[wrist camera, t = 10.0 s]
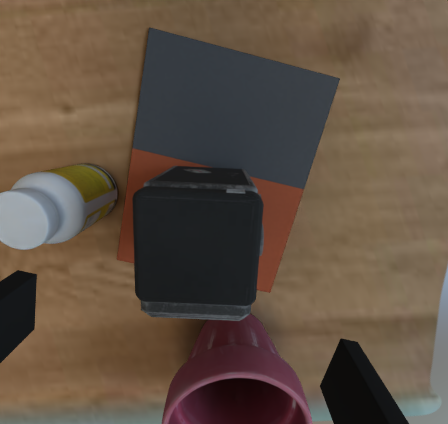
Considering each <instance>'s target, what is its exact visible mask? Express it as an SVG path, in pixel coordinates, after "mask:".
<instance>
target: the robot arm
mask: <svg viewBox="0 0 448 424" xmlns="http://www.w3.org/2000/svg"><path fill="white" fill-rule="evenodd" d="M36 280H37V274H33V273H28V272H24V271H19V270H17V271H16V272H14V273H13V274H11V275H10V276H8V277H7V278H5V279H3V280H2V281H0V363H1V362H2V361H3V360H4V359H5V358H6V357H7V356H8V355H9V354H10V353H11V352H12V351H13V350H14V349H15V348H16V347H17V346H18V345H19V344H20V343H21V342H22V341H23V340H24V339H25V338H26V337H27V336H28V335H29V334H30V333H31V332H32V331H33V330H34V326H35V303H36ZM320 388H321V390H322V393H323V396H324V398H325V401H326V404H327V407H328V409H329V412H330V415H331V417H332V420H333V423H334V424H409V423H408V421H407V420H406V418H405V417H404V415H403V413H402V412H401V410H400V409H399V407H398V405H397V404H396V402H395V401H394V399H393V398H392V396H391V394H390V393H389V391H388V390H387V388H386V386H385V385H384V383H383V382H382V380H381V379H380V377H379V375H378V374H377V372H376V371H375V369H374V367H373V366H372V364H371V363H370V361H369V359H368V358H367V356H366V355H365V353H364V352H363V350H362V348H361V347H360V345H359V344H358V342H355V341H350V340H346V339H340V342H339V344H338V346H337V348H336V351H335V353H334V355H333V358H332V360H331V362H330V364H329V367H328V369H327V371H326V373H325V376H324V378H323V380H322V383H321V385H320Z"/></svg>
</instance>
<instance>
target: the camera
mask: <svg viewBox="0 0 448 424" xmlns="http://www.w3.org/2000/svg"><path fill="white" fill-rule="evenodd" d="M132 204H133V235H134V266H135V293H136V296H137V297H138V298H139V299H140V300H141V310H142V311H144V312H145V313H147V315H149V316H151V317H166V318H188V319H209V320H231V321H240V320H242V319H244V318H245V317H246V316H247V315H249V314H250V311H251V304H252V303H253V302H254V301H255V299H256V291H257V279H258V267H259V256H261V255H262V252H263V245H264V228H263V224H262V219H263V207H264V204H263V201H262V199H261V194H258V189H257V188H256V186H255V184H254V183H253V181H252V180H251V178H250V176H249V175H248V173H247V172H246V170H245V169H231V168H210V167H189V166H173V167H171V168H169V169H168V170H166V171H164V172H162V173H161V174H159V175H157V176H155V177H154V178H152V179H150V180H148V181H147V182H145V183H144V187H143V188H141V189H139V190H138V191H136V192H135V193H134V195H133V198H132Z"/></svg>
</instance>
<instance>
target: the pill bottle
mask: <svg viewBox="0 0 448 424" xmlns="http://www.w3.org/2000/svg"><path fill="white" fill-rule="evenodd" d="M116 201H117V187H116V184H115V182H114V180H113V178H112V177H111V176H110V175H109V174H108V173H107V172H106V171H105V170H104V169H102V168H100V167H98V166H96V165H92V164H78V165H73V166H67V167H62V168H57V169H52V170H47V171H41V172H36V173H32V174H29V175H26V176H24V177H22V178H21V179H19V180H18V181H17V182H16V183H15V184H14V185H13V187H12V189H11V190H9V191H5V192H2V193H0V241H1V242H3V243H4V244H6V245H8V246H10V247H12V248H16V249H22V250H26V249H32V248H35V247H37V246H39V245H41V244H43V243H48V244H54V243H61V242H64V241H67V240H69V239H71V238H73V237H74V236H76V235H77V234H79V233H80V232H82V231H83V230H85V229H86V228H88V227H89V226H91V225H92V224H94V223H95V222H97V221H98V220H100V219H101V218H103V217H104V216H106V215H107V214H108V213H109V212H111V210H112V209H113V208H114V206H115V204H116Z"/></svg>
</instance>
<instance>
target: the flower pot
mask: <svg viewBox="0 0 448 424" xmlns="http://www.w3.org/2000/svg"><path fill="white" fill-rule="evenodd" d="M162 424H312V418H311V414H310V411H309V408H308V404H307V401H306V398H305V395H304V392H303V389H302V386H301V383H300V381H299V378H298V376H297V375H296V373H295V372H294V370H293V369H292V368H291V366H290V365H289V364H288V363H287V362H286V361H284V360H283V359H282V358H281V357H280V356H279V354H278V352H277V350H276V348H275V346H274V344H273V343H272V341H271V339H270V337H269V336H268V334H267V332H266V330H265V329H264V327H263V325H262V323H261V322H260V321H259V320H258V319H257V318H256V317H255V316H253V315H252V314H249V315H247V316H246V317H245V318H244V319H242V320H240V321H231V320H209V319H208V320H207V321H206V323H205V324H204V325H203V327H202V330H201V332H200V334H199V336H198V338H197V340H196V342H195V344H194V347H193V349H192V351H191V353H190V356H189V358H188V360H187V362H186V363H185V364H184V365H183V366H182V367H181V368H180V369H179V370H178V372H177V373H176V375H175V376H174V378H173V380H172V382H171V384H170V387H169V391H168V395H167V399H166V403H165V408H164V413H163V419H162Z"/></svg>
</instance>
